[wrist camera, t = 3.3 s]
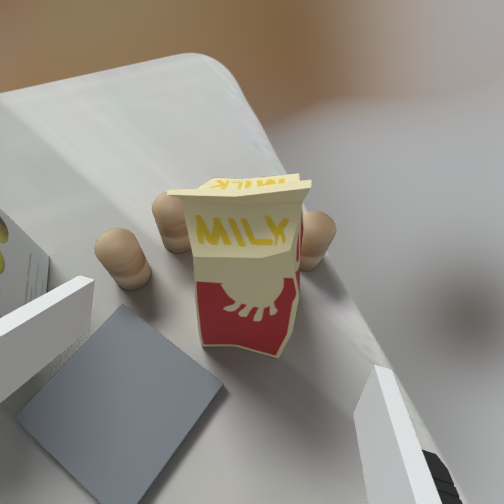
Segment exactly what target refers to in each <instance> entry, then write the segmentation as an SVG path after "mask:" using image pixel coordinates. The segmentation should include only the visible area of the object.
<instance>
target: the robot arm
mask: <svg viewBox="0 0 504 504" xmlns="http://www.w3.org/2000/svg"><path fill="white" fill-rule="evenodd" d="M94 281H95V280H93V279H90V278H87V277H83V276H80V275H79V276H77V277H75V278H74V279H72V280H70V281H68V282H66V283H64V284H62V285H61V286H59V287H57V288H55V289H53V290H51V291H49V292H48V293H46V294H44V295H42V296H40V297H38V298H37V299H35V300H33V301H31V302H29V303H27V304H25V305H24V306H22V307H20V308H18V309H16V310H14V311H13V312H11V313H9V314H7V315H5V316H3V317H1V316H0V403H1V402H2V401H3V400H5V399H6V398H7V397H8V396H10V395H11V394H12V393H13V392H14V391H16V390H17V389H18V388H19V387H21V386H22V385H23V384H24V383H26V382H27V381H28V380H29V379H30V378H32V377H33V376H34V375H35V374H37V373H38V372H39V371H40V370H41V369H43V368H44V367H45V366H46V365H48V364H49V363H50V362H51V361H52V360H54V359H55V358H56V357H57V356H59V355H60V354H61V353H62V352H63V351H65V350H66V349H67V348H68V347H70V346H71V345H72V344H73V343H75V342H76V341H77V340H78V339H79V338H81V337H82V336H83V335H84V334H86V333H87V332H88V331H89V327H90V318H91V308H92V299H93V290H94ZM353 415H354V421H355V427H356V433H357V439H358V445H359V451H360V457H361V463H362V469H363V475H364V481H365V487H366V493H367V499H368V504H462V501H461V500H460V499H459V494H458V492H457V490H456V487H454V483H453V481H452V478H451V476H450V474H449V471H448V469H447V468H446V466H445V465H444V464H443V463H442V461H441V460H440V459H439V457H438V456H437V455H436V454H434V453H431V452H428V451H425V450H422V449H421V447H420V444H419V441H418V439H417V436H416V433H415V431H414V428H413V425H412V423H411V420H410V417H409V415H408V412H407V409H406V407H405V404H404V402H403V399H402V396H401V394H400V391H399V388H398V386H397V383H396V380H395V378H394V375H393V372H392V370H391V369H387V368H384V367H381V366H377V365H374V366H373V368H372V371H371V373H370V375H369V378H368V380H367V382H366V385H365V387H364V390H363V392H362V394H361V397H360V399H359V402H358V404H357V406H356V409H355V411H354V413H353Z"/></svg>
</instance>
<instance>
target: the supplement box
mask: <svg viewBox="0 0 504 504" xmlns="http://www.w3.org/2000/svg"><path fill="white" fill-rule="evenodd" d="M48 268H49V256H48V255H47V254H46V253H45V252H44V251H43V250H42V249H41V248H40V247H39V246H38V245H37V244H36V243H35V242H34V241H33V240H32V239H31V238H30V237H29V236H28V235H27V234H26V233H25V232H24V231H23V230H22V229H21V228H20V227H19V226H18V225H17V224H16V223H15V222H14V221H13V220H12V219H11V218H10V217H9V216H8V215H6V214H5V213H4V212H3V211H2V210H1V209H0V316H1V317H3V316H5V315H7V314H9V313H11V312H13V311H14V310H16V309H18V308H20V307H22V306H24V305H25V304H27V303H29V302H31V301H33V300H35V299H37V298H38V297H40V296H42V295H44V294H46V289H47V279H48Z"/></svg>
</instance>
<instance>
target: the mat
mask: <svg viewBox="0 0 504 504" xmlns="http://www.w3.org/2000/svg"><path fill="white" fill-rule="evenodd" d="M222 386H223V383H222V382H221V381H220V380H218V379H217V378H216V377H215V376H213V375H212V374H211V373H210V372H208V371H207V370H206V369H205V368H203V367H202V366H201V365H199V364H198V363H197V362H196V361H194V360H193V359H192V358H191V357H189V356H188V355H187V354H186V353H184V352H183V351H182V350H181V349H179V348H178V347H177V346H176V345H174V344H173V343H172V342H170V341H169V340H168V339H167V338H165V337H164V336H163V335H162V334H160V333H159V332H158V331H157V330H155V329H154V328H153V327H152V326H150V325H149V324H148V323H146V322H145V321H144V320H143V319H141V318H140V317H139V316H138V315H136V314H135V313H134V312H133V311H131V310H130V309H129V308H128V307H126V306H125V305H124V304H122V305H121V306H120V307H119V308H118V309H117V310H116V311H115V312H114V313H113V314H112V315H111V316H110V317H109V318H108V319H107V320H106V322H105V323H104V324H103V325H102V326H101V327H100V328H99V329H98V330H97V331H96V332H95V333H94V334H93V335H92V336H91V337H90V338H89V339H88V340H87V341H86V342H85V344H84V345H83V346H82V347H81V348H80V349H79V350H78V351H77V352H76V353H75V354H74V355H73V356H72V357H71V358H70V359H69V360H68V361H67V362H66V363H65V364H64V366H63V367H62V368H61V369H60V370H59V371H58V372H57V373H56V374H55V375H54V376H53V377H52V378H51V379H50V380H49V381H48V382H47V383H46V384H45V385H44V386H43V388H42V389H41V390H40V391H39V392H38V393H37V394H36V395H35V396H34V397H33V398H32V399H31V400H30V401H29V402H28V403H27V404H26V405H25V406H24V407H23V408H22V410H21V411H20V412H19V413H18V414H17V415H16V416H15V417H14V419H16V420H17V421H18V422H19V423H20V424H21V425H22V426H23V427H24V428H25V429H26V430H27V431H28V432H29V433H30V434H31V435H32V436H33V437H34V438H35V439H36V440H37V441H38V442H39V443H40V444H41V445H42V446H43V447H44V448H45V449H46V450H47V451H48V452H49V453H50V454H51V455H52V456H53V457H54V458H55V459H56V460H57V461H58V462H59V463H60V464H61V465H62V466H63V467H64V468H65V469H66V470H67V471H68V472H69V473H70V474H71V475H72V476H73V477H74V478H75V479H76V480H77V481H78V482H79V483H80V484H81V485H82V486H83V487H84V488H85V489H86V490H87V491H88V492H89V493H91V494H92V495H93V496H94V497H95V498H96V499H97V500H98V501H99V502H100V503H101V504H138V503H139V502H140V501H141V499H142V498H143V496H144V495H145V494H146V492H147V491H148V489H149V488H150V487H151V485H152V484H153V482H154V481H155V480H156V478H157V477H158V475H159V474H160V473H161V471H162V470H163V468H164V467H165V466H166V464H167V463H168V462H169V460H170V459H171V457H172V456H173V455H174V453H175V452H176V450H177V449H178V448H179V446H180V445H181V443H182V442H183V441H184V439H185V438H186V436H187V435H188V434H189V432H190V431H191V429H192V428H193V427H194V425H195V424H196V422H197V421H198V420H199V418H200V417H201V415H202V414H203V413H204V411H205V410H206V408H207V407H208V406H209V404H210V403H211V402H212V400H213V399H214V397H215V396H216V395H217V393H218V392H219V390H220V389H221V388H222Z"/></svg>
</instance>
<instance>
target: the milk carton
mask: <svg viewBox="0 0 504 504" xmlns="http://www.w3.org/2000/svg"><path fill="white" fill-rule="evenodd" d="M310 188H311V180H304V181H300V178H299V174H289V175H279V176H270V177H260V178H251V179H225V178H212V179H211V180H209V181H208V182H207V183H205V184H204V185H202V186H201V187H199V188H198V189H191V190H168V191H167V195H169V196H173V197H177V198H181V200H182V205H183V210H184V215H185V220H186V225H187V229H188V234H189V239H190V244H191V249H192V254H193V264H194V284H195V301H196V310H197V320H198V329H199V335H200V340H201V345H202V347H214V346H235V347H239V348H243V349H246V350H250V351H253V352H257V353H260V354H264V355H267V356H271V357H274V358H278V359H279V357H280V355H281V353H282V352H283V350H284V348H285V346H286V344H287V342H288V340H289V339H290V337H291V335H292V332H293V327H294V322H295V317H296V311H297V306H298V301H299V280H300V256H301V247H302V239H303V230H304V222H303V212H302V202H303V200H304V199H305V197H306V195H307V193H308V192H309V190H310Z"/></svg>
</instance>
